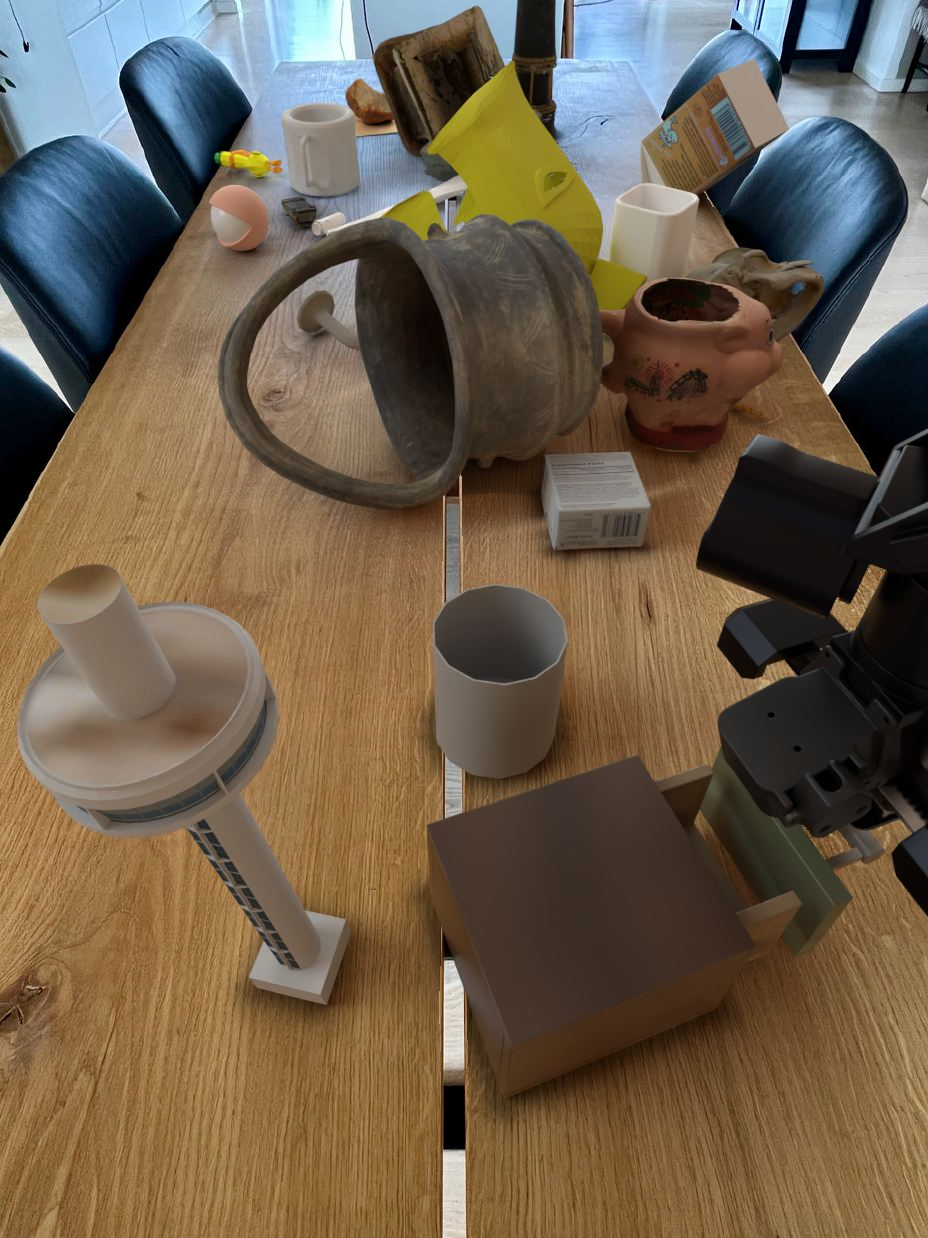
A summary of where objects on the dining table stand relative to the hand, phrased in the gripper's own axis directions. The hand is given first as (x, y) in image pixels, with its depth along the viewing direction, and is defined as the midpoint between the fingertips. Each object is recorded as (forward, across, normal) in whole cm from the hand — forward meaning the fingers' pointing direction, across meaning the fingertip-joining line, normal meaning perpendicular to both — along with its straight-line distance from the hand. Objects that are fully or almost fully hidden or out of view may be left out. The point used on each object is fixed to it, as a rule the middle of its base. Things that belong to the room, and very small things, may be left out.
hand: (816, 823), depth 48 cm
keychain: (+5, -45, +25) cm, 52 cm away
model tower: (+5, -5, -30) cm, 30 cm away
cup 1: (+5, -16, -14) cm, 22 cm away
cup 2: (+5, -63, +23) cm, 67 cm away
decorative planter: (+5, -44, +16) cm, 47 cm away
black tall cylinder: (+5, -132, +40) cm, 139 cm away
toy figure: (+3, -126, -5) cm, 126 cm away
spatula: (+2, -106, +8) cm, 106 cm away
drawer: (+4, 0, -6) cm, 7 cm away
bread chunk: (+8, -148, +18) cm, 150 cm away
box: (+2, -30, +2) cm, 30 cm away
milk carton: (-9, -92, +55) cm, 107 cm away
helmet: (-14, -81, +4) cm, 82 cm away
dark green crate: (+2, -109, -6) cm, 109 cm away
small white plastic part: (+2, -103, -2) cm, 103 cm away
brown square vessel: (-7, -125, +24) cm, 127 cm away
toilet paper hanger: (+6, -76, -1) cm, 76 cm away
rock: (+6, -116, +25) cm, 119 cm away
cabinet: (+5, 0, -15) cm, 16 cm away
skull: (-2, -50, +33) cm, 60 cm away
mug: (+5, -119, 0) cm, 120 cm away
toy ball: (+5, -102, -15) cm, 103 cm away
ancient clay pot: (-6, -49, +5) cm, 50 cm away
